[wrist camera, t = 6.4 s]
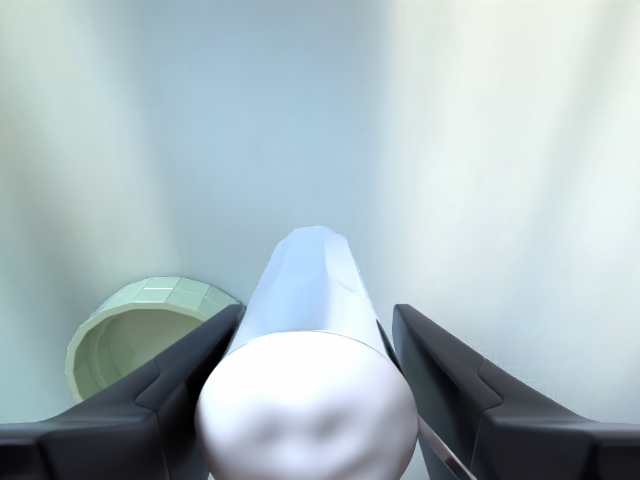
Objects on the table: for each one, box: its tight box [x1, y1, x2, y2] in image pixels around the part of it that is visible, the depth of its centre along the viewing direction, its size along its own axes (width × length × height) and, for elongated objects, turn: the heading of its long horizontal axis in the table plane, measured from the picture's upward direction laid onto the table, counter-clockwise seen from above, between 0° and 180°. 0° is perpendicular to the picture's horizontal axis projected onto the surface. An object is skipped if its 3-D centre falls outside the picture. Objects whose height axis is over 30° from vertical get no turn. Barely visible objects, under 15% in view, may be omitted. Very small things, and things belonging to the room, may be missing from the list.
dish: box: [65, 277, 240, 404], centre depth 24 cm, size 11×11×3 cm
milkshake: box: [194, 225, 477, 480], centre depth 11 cm, size 4×5×10 cm
